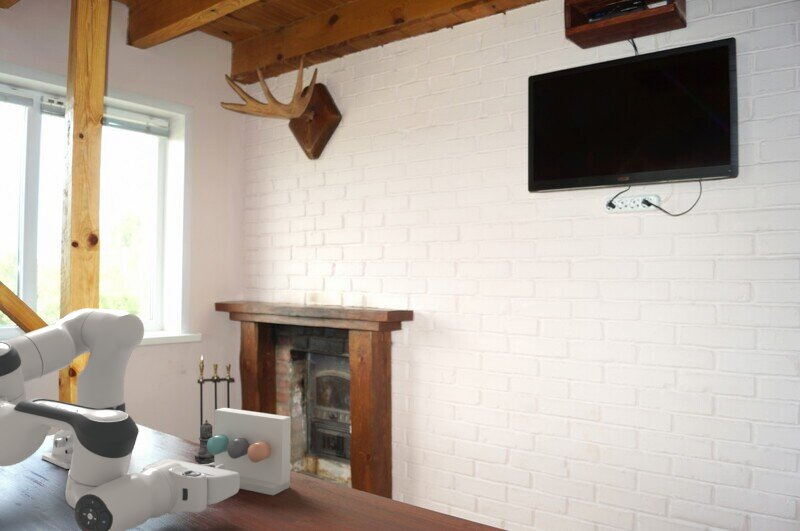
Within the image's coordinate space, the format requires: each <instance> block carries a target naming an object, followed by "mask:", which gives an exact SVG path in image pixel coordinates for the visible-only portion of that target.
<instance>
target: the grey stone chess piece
mask: <svg viewBox="0 0 800 531" xmlns="http://www.w3.org/2000/svg"><path fill="white" fill-rule="evenodd" d="M199 431H200V437H198V440H199V448H198V451H196V452H194V453H193V456H194V460H195V462H196V464H199V465H202V464H210V463H213V462H214V455H212V454H211V453H210V452H209V451H208V448H207V442H208V440H209V439H210V438H212V437H213V425H212V424H211V423H209V421H208V420H207V419H206V420H205V421H204V423H203V424H201V425H200V429H199Z"/></svg>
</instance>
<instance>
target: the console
mask: <svg viewBox="0 0 800 531" xmlns="http://www.w3.org/2000/svg"><path fill="white" fill-rule="evenodd" d="M291 418H292V417H291V416H287V415H280V414H273V413H267V412H258V411H251V410H245V409H238V408H237V409H235V408H231V407H230V408H229V407H221V408H217V409H214V437H215V436H218V435H221V434H223V435H225V436H227V438H228V439H229V442H230V441H233V440H236V439H239V438H245V439H246V440H247V441H248V442H249V446H250V445H252V444H255V443H258V442H261V441H265V442H267V443H268V444H269V446H270V449H271V453H270V456H269V457H268V458H267V459H265V460H262V461H260V462H257V463H254V462H252V461H251V460H250V459H249V457H248V454H246V455H244V456H242V457H239V458H236V459H233V458H231V457H230V456H229V455H228V452H227V451H225V452H222V453H220V454H217V455H214V463H219V464H224V465H225V470H229V471H234V472H238V473H239V475H240V487H239V490H241V489H242V490H245V491H250V492H255V493H260V494H264V495H269V496H275V495H277V494H279V493H281V492H283V491H285V490H288V489H289V488H290V487H291V486H290V485H291V430H292V429H291V427H292V426H291V421H292V420H291Z"/></svg>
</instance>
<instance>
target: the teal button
mask: <svg viewBox="0 0 800 531" xmlns="http://www.w3.org/2000/svg"><path fill="white" fill-rule="evenodd" d="M228 443H229V439H228V438H227V436H225V435H223V434H221V435H218V436H215V435H214V436H212V438H210V439H209V440H208V442H207V448H208V451H209V452H210V453H211V454H212V455H217V454H220V453H222V452H225V451H227V445H228Z"/></svg>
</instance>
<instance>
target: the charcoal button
mask: <svg viewBox="0 0 800 531" xmlns="http://www.w3.org/2000/svg"><path fill="white" fill-rule="evenodd" d="M249 447H250V446H249V442H248V441H247V440H246V439H245V438H239V439H236V440H233V441H230V442H229V443H228V445H227V452H228V455H229V456H230V457H231V458H233V459H236V458H239V457H242V456H244V455H246V454H248V448H249Z"/></svg>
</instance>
